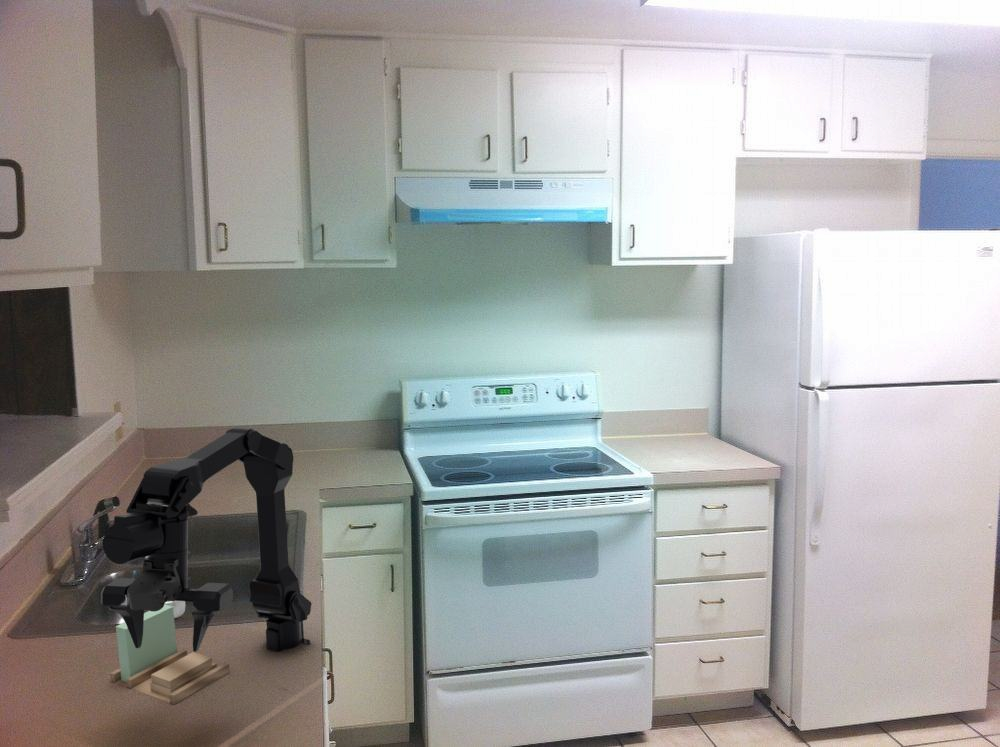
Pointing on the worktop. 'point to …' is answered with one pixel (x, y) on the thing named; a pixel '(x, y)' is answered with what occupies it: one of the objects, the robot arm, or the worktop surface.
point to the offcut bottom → (166, 691)
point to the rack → (144, 677)
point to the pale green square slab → (147, 642)
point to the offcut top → (181, 670)
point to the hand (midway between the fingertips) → (167, 649)
